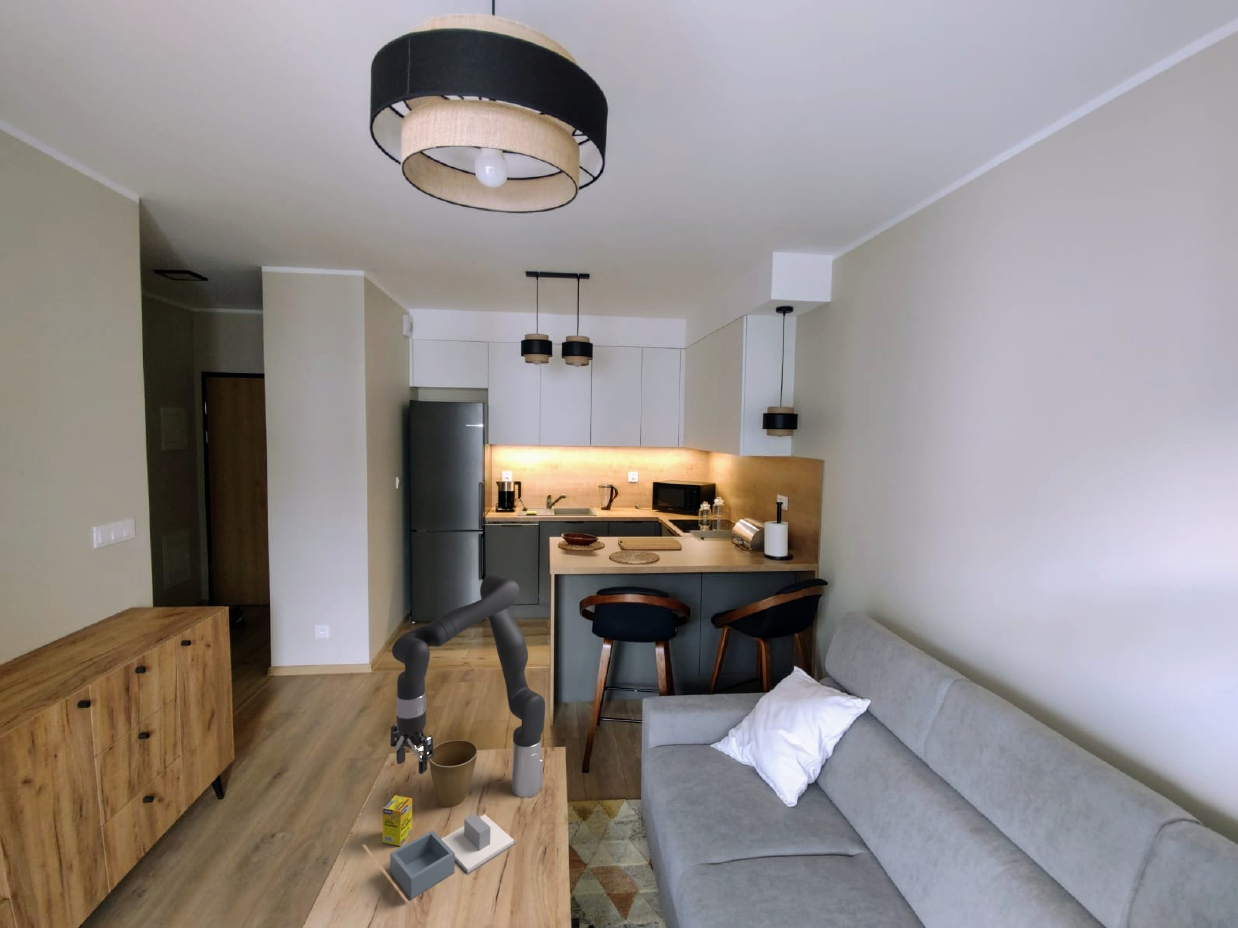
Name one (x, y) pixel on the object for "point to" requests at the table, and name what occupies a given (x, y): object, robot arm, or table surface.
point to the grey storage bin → (422, 864)
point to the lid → (477, 841)
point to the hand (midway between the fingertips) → (411, 767)
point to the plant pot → (452, 770)
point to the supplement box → (397, 821)
